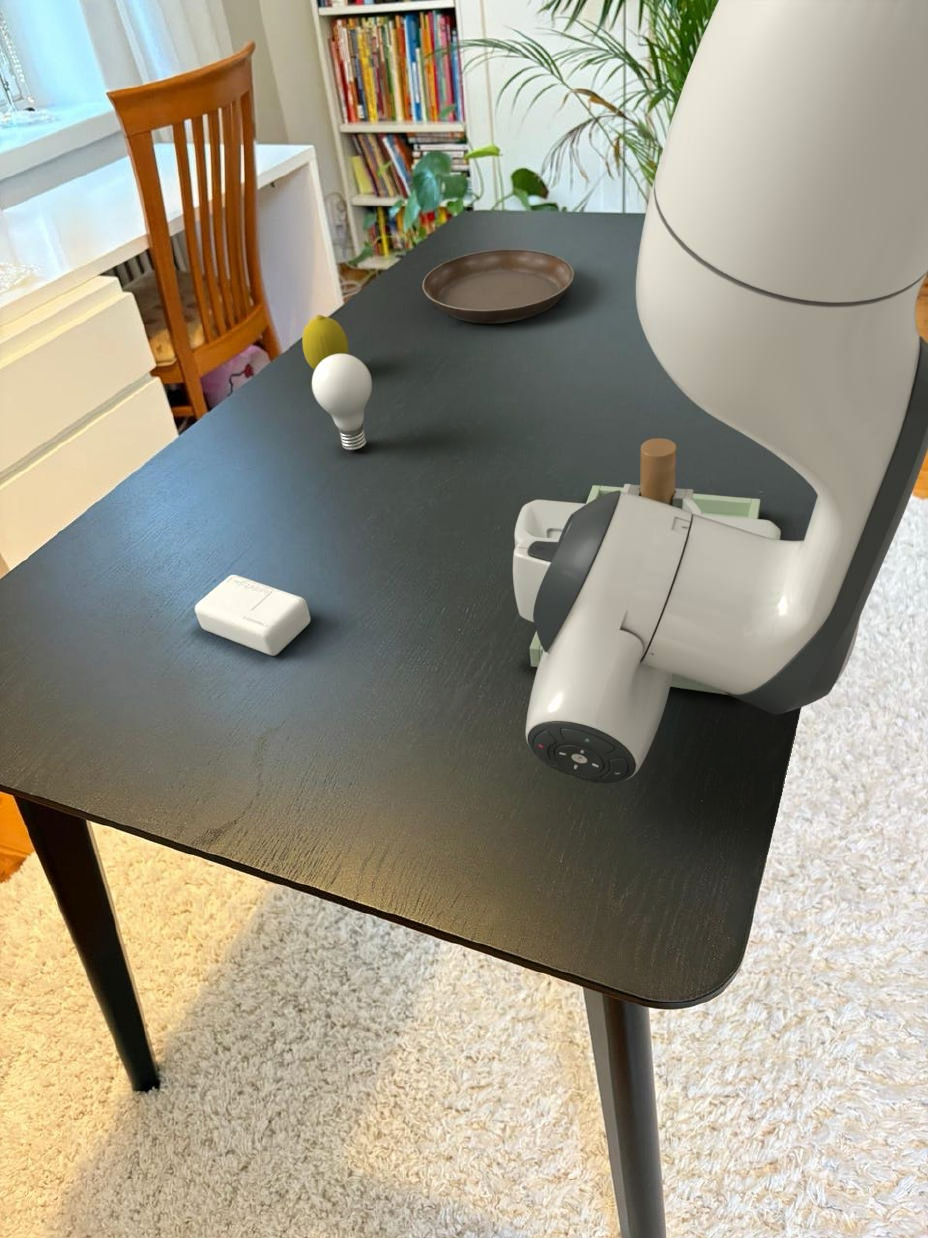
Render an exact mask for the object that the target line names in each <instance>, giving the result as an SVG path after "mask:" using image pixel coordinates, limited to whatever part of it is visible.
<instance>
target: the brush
mask: <svg viewBox="0 0 928 1238" xmlns="http://www.w3.org/2000/svg"><path fill="white" fill-rule="evenodd" d="M677 450H678V448H677V444H676V442H674V441H672V440H670V439H667V438H664V437H663V438H662V437H661V438H660V437H657V438H651V439H647V440H645V441H644V442H643V443H642V444H641V446H640V469H639V470H640V473H639V475H640V476H639V478H640V479H639V480H640V484H639V485H640V496H641V497H645V498H648V499H651V500H655V501H658V502H661V503H665V504H668V505H671V506H673V505H672V503H673V495H674V493H675V488H676V475H677Z"/></svg>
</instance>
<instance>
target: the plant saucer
mask: <svg viewBox="0 0 928 1238" xmlns="http://www.w3.org/2000/svg"><path fill="white" fill-rule="evenodd" d="M572 266H573V265H571V264H570V263H569V262H568V261H567V260H566V259H564V258H562V257H560V256H557V255H555V254H552V253H549V252H545V251H540V250H534V249H524V248H523V249H521V248H504V249H503V248H501V249H490V250H484V251H478V252H472V253H469V254H468V253H467V254H464V255H461V256H458V257H455V258H452V259H450V260H448V261H445V262H443V263H441V264H439V265H438V266H436V267H434V268H433V269H432V270H430V271H429V272H428V273H427V274H426V276H425V277H424V279H423V281H422V290H423V292H424V294H425V296H426V297H427V298H428V299H429V301H430V302H431V303H432V304H434V306H435V307H436V308H438V309H439V310H440V311H441V312H442V313H444V314H446V315H447V316H450V317H451V318H455V319H457V320H460V321H463V322H468V323H473V324H490V325H491V324H504V323H505V324H506V323H512V322H516V321H517V322H518V321H522V320H525V319H529V318H531V317H532V318H533V317H534V316H538V315H539V314H541V313H544V312H545V311H547V310H549V309H550V308H552V307H553V306H554V305H555V304H557V303H558V302H559V301H560V300H561V299H562V297H564V295H565V294H566V292H567V291H568V289H569V287H570V286H571V285H572V282H574V281H573V280H574V278H575V271H574V268H573V267H572Z"/></svg>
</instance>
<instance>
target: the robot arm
mask: <svg viewBox="0 0 928 1238" xmlns="http://www.w3.org/2000/svg"><path fill="white" fill-rule="evenodd" d="M682 86H683V87H682V89H681V93H680V96H679V99H678V101H677V105H676V107H675V110H674V113H673V116H672V119H671V121H670V125H669V128H668V131H667V135H666V139H665V142H664V145H663V148H662V152H661V156H660V158H659V162H658V166H657V168H656V172H655V176H654V179H653V182H652V187H651V190H650V195H649V198H648V203H647V207H646V212H645V217H644V222H643V227H642V232H641V237H640V244H639V249H638V250H639V251H638V257H637V266H636V275H635V304H636V309H637V310H636V311H637V315H638V319H639V322H640V325H641V329H642V331H643V333H644V336H645V339H646V340H647V342H648V345H649V347H650V349H651V351H652V352H653V355H654V356H655V358H656V360H657V361H658V362H659V364H660V366H661V367H662V369H663V370H664V371H665V373H666V374H667V375H668V377H669V378H670V379H671V380H672V382H673V383H674V384H675V385H676V386H677V388H679V389H680V391H681V392H682V393H683V394H684V395H685V396H686V397H687V398H688V399H689V400H691V401H692V402H693V403H694V404H695V405H696V406H698V407H699V408H700V409H701V410H702V411H704V412H706V413H707V414H708V415H710V416H711V417H713V418H714V419H716V420H718V421H720V422H721V423H723V424H725V425H727V426H729V427H730V428H731V429H734V430H735V431H737V432H739V433H741V434H742V435H744V436H746V437H747V438H749V439H750V440H752V441H754V442H755V443H757V444H759V445H760V446H762V447H763V448H764V449H766V450H767V451H769V452H771V453H772V454H773V455H775V456H776V457H778V458H779V459H780V460H782V461H783V462H785V463H786V465H788V466H790V467H791V468H792V469H793V470H794V471H795V472H797V474H798V475H800V476H801V477H802V478H803V479H805V481H806V482H807V483H808V484H809V485H810V486H811V487H812V488H813V490H814V491H815V493H816V495H817V497H816V500H815V504H814V507H813V510H812V514H811V517H810V520H809V523H808V526H807V529H806V532H805V536H804V539H803V540H785V539H784V540H783V539H781V533H782V531H781V529H780V528H779V527H778V525H776V524H775V523H774V522H773V521H771V520H768V519H760V518H758V519H749V518H738V517H727V516H716V515H705V514H702V511H701V510H700V508H699V507H698V506H697V505H696V504H695V502H694V501H693V494H694V492H695V491H694V489H693V488H679V487H678V488H676V487H675V493H674V495H673V503H672V505H673V506H671V505H668V504H665V503H661V502H658V501H655V500H651V499H648V498H645V497H641V496H640V484H634V483H633V484H631V483H624V485H623V487H622V488H623V490H622V492H621V491H620V490H618V491H613V492H610V493H607V494H605V495H602V496H600V497H598V498H596V499H594V500H593V501H591V502H589V503H588V504H586V503H580V502H570V501H560V500H559V501H558V500H548V499H534V500H532V501H530V502H527V503H525V504H524V505H523V506H522V507H521V509H520V512H519V514H518V517H517V519H516V523H515V527H514V533H513V534H514V550H513V553H512V554H513V556H512V581H513V591H514V597H515V602H516V606H517V611H518V614H519V616H520V617H521V618H523V619H525V620H526V621H529V622H532V623H534V626H535V632H536V631H537V634H538V638H539V641H540V643H541V646H542V648H543V649H544V651H543V654H542V656H541V659H540V663H539V666H538V667H537V669H536V673H535V677H534V680H533V684H532V688H531V693H530V697H529V703H528V708H527V714H526V723H525V740H526V744H527V745H528V747H529V749H530V750H531V752H532V753H533V754H534V755H535V756H536V757H537V759H539V760H540V761H542V762H543V764H546V766H548V767H549V768H552V769H553V770H556V771H558V772H560V773H563V774H565V775H568V776H571V777H574V778H576V779H580V780H583V781H585V782H590V783H594V784H615V783H616V784H617V783H621V782H624V781H627V780H629V779H631V778H633V777H634V776H635V775H637V773H638V771H639V770H640V769H641V767H642V766H643V763H644V761H645V759H646V757H647V755H648V754H649V751H650V748H651V746H652V743H653V741H654V739H655V737H656V734H657V732H658V729H659V727H660V724H661V721H662V717H663V714H664V711H665V708H666V704H667V701H668V697H669V694H670V690H671V687H670V685H671V681H672V674H675V675H678V676H681V677H684V678H687V679H690V680H693V681H696V682H699V683H702V684H705V685H707V686H710V687H713V688H716V689H719V690H722V691H724V692H725V693H727V694H728V695H727V696H730V697H732V698H735V699H737V700H740V701H742V702H744V703H746V704H748V705H751V706H753V707H755V708H758V709H761V710H763V711H765V712H767V713H770V714H771V715H781V714H784V713H788V712H792V711H795V710H797V709H801V708H803V707H806V706H809V705H811V704H813V703H815V702H816V701H819V700H821V699H823V698H825V697H827V696H828V695H829V694H830V693H831V691H832V690H833V688H834V687H835V685H836V683H837V682H838V681H839V679H840V678H841V676H842V675H843V673H844V671H845V670H846V668H847V666H848V663H849V662H850V660H851V657H852V654H853V651H854V648H855V645H856V641H857V638H858V632H859V628H860V627H859V626H860V620H861V616H862V614H863V611H864V609H865V606H866V604H867V602H868V599H869V596H870V593H871V591H872V590H873V587H874V585H875V583H876V580H877V578H878V575H879V574H880V570H881V568H882V566H883V564H884V561H885V558H886V557H887V555H888V552H889V550H890V547H891V545H892V542H893V540H894V538H895V536H896V533H897V531H898V529H899V527H900V525H901V522H902V519H903V517H904V514H905V513H906V509H907V507H908V504H909V502H910V500H911V496H912V494H913V491H914V489H915V487H916V483H917V480H918V478H919V476H920V473H921V470H922V468H923V464H924V461H925V459H926V456H927V453H928V341H926V340H925V339H924V338H923V336H922V335H920V334H919V330H918V326H917V317H916V316H917V315H916V314H917V313H916V312H917V310H916V309H917V302H918V297H919V294H920V291H921V289H922V285H923V283H924V282H925V279H926V277H927V274H928V0H718V1H717V3H716V5H715V8H714V10H713V12H712V14H711V17H710V19H709V21H708V24H707V25H706V28H705V30H704V33H703V35H702V37H701V40H700V43H699V45H698V48H697V50H696V53H695V55H694V58H693V61H692V62H691V66H690V68H689V71H688V73H687V76H686V78H685V81H684V83H683V85H682Z"/></svg>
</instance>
